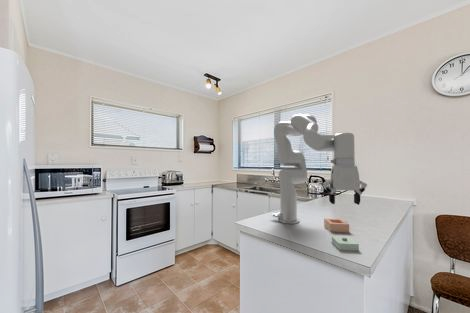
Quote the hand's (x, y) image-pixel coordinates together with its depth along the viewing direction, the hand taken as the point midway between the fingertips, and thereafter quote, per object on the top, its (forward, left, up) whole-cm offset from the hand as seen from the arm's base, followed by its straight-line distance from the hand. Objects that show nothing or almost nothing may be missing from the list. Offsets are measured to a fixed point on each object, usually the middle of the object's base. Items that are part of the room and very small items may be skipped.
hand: (344, 203), depth 83 cm
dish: (+5, +22, -18) cm, 29 cm away
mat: (0, 0, -18) cm, 18 cm away
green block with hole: (0, 0, -18) cm, 18 cm away
